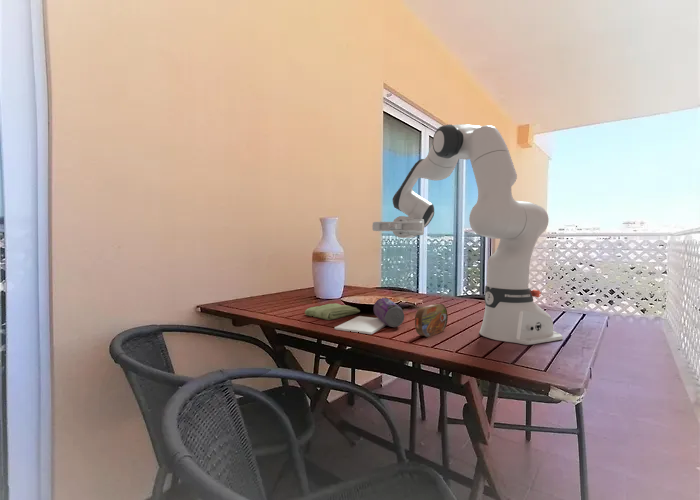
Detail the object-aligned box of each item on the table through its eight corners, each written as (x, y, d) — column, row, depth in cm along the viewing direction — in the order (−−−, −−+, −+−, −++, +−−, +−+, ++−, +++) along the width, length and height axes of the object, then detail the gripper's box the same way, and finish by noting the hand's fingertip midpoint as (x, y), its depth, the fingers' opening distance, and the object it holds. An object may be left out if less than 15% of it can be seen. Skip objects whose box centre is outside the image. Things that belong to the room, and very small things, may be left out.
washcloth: (361, 314, 137) (361, 305, 137) (329, 322, 124) (329, 312, 123) (334, 309, 146) (334, 300, 145) (301, 316, 132) (301, 307, 132)
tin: (422, 339, 103) (422, 309, 103) (412, 337, 105) (413, 307, 105) (448, 330, 114) (449, 302, 114) (439, 328, 117) (439, 301, 116)
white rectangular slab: (358, 317, 129) (358, 316, 129) (392, 321, 124) (392, 319, 124) (334, 329, 113) (334, 327, 113) (371, 334, 108) (371, 332, 108)
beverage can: (396, 307, 128) (410, 316, 116) (382, 322, 127) (394, 333, 115) (383, 292, 126) (395, 301, 114) (368, 308, 125) (379, 318, 114)
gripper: (379, 219, 157) (366, 217, 144) (427, 219, 148) (418, 217, 135) (379, 234, 157) (366, 234, 144) (427, 235, 148) (418, 235, 136)
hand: (391, 226), depth 140 cm, fingers closed
